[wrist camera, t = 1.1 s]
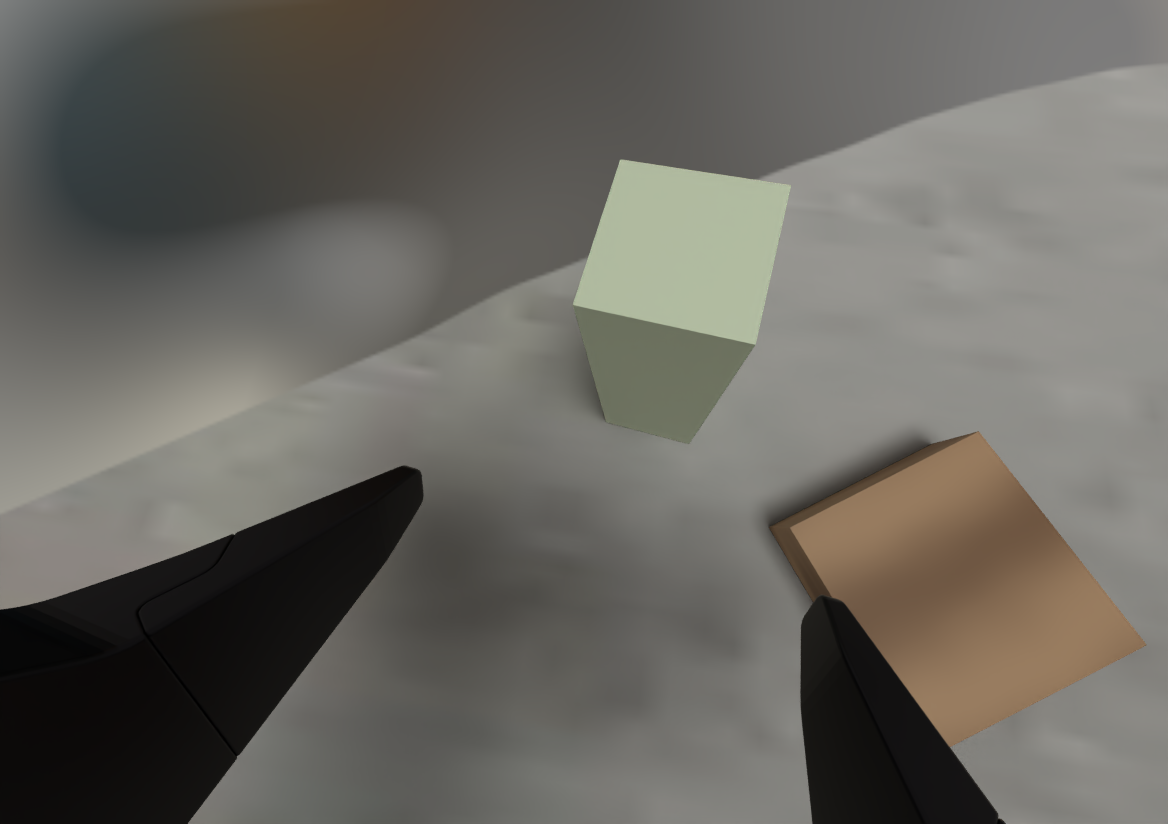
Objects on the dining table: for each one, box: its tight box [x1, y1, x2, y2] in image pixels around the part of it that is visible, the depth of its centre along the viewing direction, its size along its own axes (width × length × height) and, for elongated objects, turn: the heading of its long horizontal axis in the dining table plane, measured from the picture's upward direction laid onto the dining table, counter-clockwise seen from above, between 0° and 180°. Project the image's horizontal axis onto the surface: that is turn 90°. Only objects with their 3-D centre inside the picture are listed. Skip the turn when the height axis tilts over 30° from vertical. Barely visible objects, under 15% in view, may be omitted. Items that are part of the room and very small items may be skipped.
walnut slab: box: [769, 431, 1146, 747], centre depth 19 cm, size 9×9×3 cm
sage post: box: [573, 160, 791, 444], centre depth 17 cm, size 4×4×13 cm
